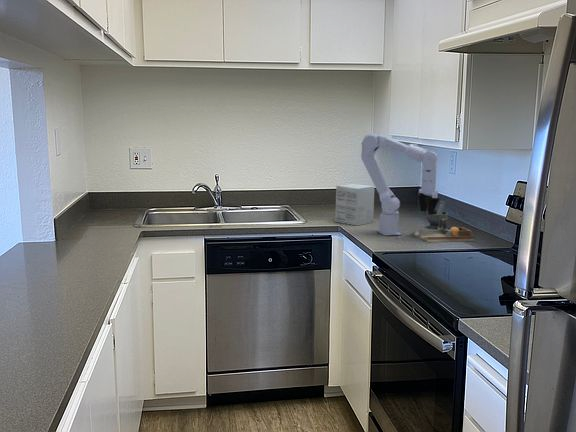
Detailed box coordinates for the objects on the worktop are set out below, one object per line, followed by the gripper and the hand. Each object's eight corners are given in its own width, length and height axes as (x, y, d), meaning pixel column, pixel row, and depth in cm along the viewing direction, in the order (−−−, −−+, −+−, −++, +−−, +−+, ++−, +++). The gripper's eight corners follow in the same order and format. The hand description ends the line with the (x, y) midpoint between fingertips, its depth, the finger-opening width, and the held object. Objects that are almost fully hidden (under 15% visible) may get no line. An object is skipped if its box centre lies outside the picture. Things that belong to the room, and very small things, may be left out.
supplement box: (351, 218, 284) (353, 183, 281) (373, 222, 275) (375, 186, 272) (334, 221, 275) (335, 185, 272) (356, 226, 266) (357, 188, 263)
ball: (448, 225, 243) (457, 226, 244) (447, 235, 244) (456, 235, 244) (452, 227, 239) (461, 228, 240) (451, 237, 240) (460, 237, 241)
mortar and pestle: (441, 230, 258) (443, 204, 256) (422, 227, 264) (423, 201, 262) (452, 227, 267) (453, 201, 265) (433, 224, 273) (435, 199, 271)
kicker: (436, 232, 249) (437, 218, 248) (444, 232, 250) (444, 218, 248) (446, 236, 240) (447, 222, 239) (453, 236, 241) (454, 222, 239)
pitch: (413, 234, 250) (413, 224, 249) (456, 233, 254) (456, 224, 253) (428, 242, 235) (428, 232, 234) (473, 241, 238) (474, 231, 237)
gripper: (445, 182, 234) (443, 215, 237) (430, 178, 248) (428, 209, 251) (428, 182, 233) (427, 215, 235) (415, 178, 247) (413, 209, 249)
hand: (426, 212), depth 243 cm, fingers open, 7 cm apart
